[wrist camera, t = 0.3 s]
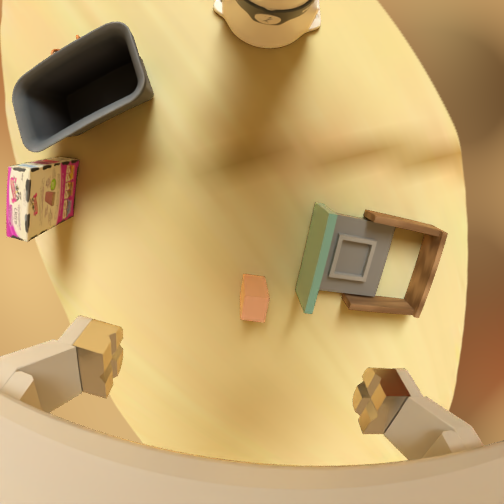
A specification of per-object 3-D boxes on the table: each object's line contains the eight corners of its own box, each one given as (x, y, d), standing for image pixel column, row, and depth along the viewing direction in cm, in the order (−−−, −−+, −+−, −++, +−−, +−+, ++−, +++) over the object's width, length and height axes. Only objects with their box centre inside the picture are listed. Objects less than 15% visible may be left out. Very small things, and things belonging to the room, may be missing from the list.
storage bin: (69, 154, 51) (27, 161, 38) (48, 84, 46) (5, 75, 33) (172, 105, 50) (150, 93, 36) (146, 32, 45) (121, 3, 31)
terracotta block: (243, 273, 60) (244, 295, 52) (264, 276, 61) (269, 298, 52) (239, 295, 62) (240, 319, 53) (260, 298, 62) (264, 322, 54)
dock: (365, 209, 57) (378, 216, 52) (431, 225, 59) (447, 233, 53) (341, 297, 63) (350, 311, 57) (406, 304, 64) (418, 317, 59)
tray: (315, 202, 56) (329, 213, 48) (393, 218, 58) (416, 231, 49) (295, 289, 62) (304, 313, 53) (370, 298, 63) (387, 320, 55)
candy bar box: (58, 156, 51) (7, 164, 35) (80, 159, 52) (31, 167, 36) (53, 213, 54) (4, 237, 39) (74, 217, 55) (27, 243, 39)
